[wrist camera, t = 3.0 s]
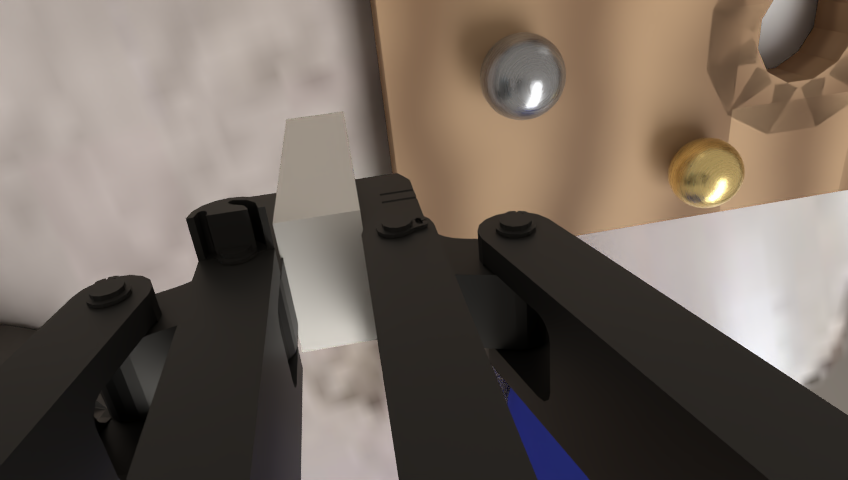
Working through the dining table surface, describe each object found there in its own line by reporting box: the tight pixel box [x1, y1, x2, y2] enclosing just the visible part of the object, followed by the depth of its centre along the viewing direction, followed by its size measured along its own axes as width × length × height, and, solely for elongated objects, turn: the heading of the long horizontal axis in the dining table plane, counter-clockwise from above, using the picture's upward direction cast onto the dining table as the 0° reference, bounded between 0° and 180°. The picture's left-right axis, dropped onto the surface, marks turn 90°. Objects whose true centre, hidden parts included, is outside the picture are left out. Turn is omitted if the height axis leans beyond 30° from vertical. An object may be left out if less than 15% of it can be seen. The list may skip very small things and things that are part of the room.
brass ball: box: [668, 138, 745, 208], centre depth 27 cm, size 3×3×3 cm
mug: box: [507, 388, 589, 480], centre depth 32 cm, size 8×12×10 cm
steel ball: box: [480, 32, 566, 120], centre depth 24 cm, size 3×3×3 cm
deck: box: [370, 0, 848, 239], centre depth 26 cm, size 24×16×4 cm, turn 96°
